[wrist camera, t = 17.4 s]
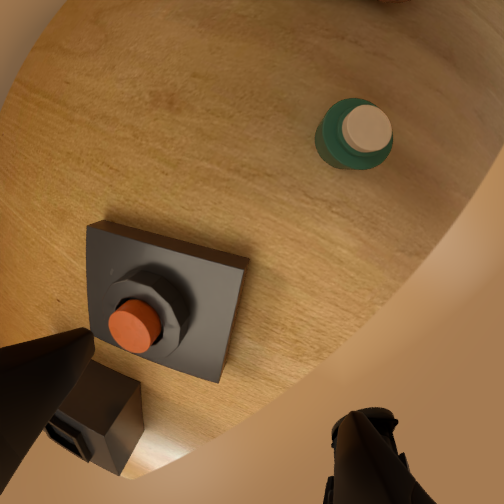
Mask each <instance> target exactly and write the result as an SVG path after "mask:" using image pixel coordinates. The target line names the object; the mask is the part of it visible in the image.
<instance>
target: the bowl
mask: <svg viewBox="0 0 504 504" xmlns="http://www.w3.org/2000/svg"><path fill="white" fill-rule="evenodd" d="M378 1H382V2H387V3H400V2H405V1H409V0H378Z"/></svg>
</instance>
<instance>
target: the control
mask: <svg viewBox="0 0 504 504" xmlns="http://www.w3.org/2000/svg"><path fill="white" fill-rule="evenodd" d="M249 260H250V259H249V258H246V257H242V256H238V255H234V254H230V253H226V252H223V251H219V250H215V249H211V248H207V247H204V246H200V245H196V244H192V243H188V242H185V241H181V240H177V239H173V238H170V237H166V236H162V235H158V234H155V233H151V232H147V231H143V230H140V229H136V228H132V227H128V226H125V225H121V224H117V223H114V222H110V221H106V220H101V221H98V222H96V223H93V224H90V225H87V231H86V277H87V297H88V311H89V322H90V331H92V332H93V335H94V337H97V338H99V339H101V340H103V341H105V342H107V343H109V344H112V345H114V346H116V347H118V348H121V349H123V350H125V351H128V350H126V349H124V348H123V347H121V346H120V345H119V344H118V343H117V342H116V341H115V339H114V338H113V336H112V334H111V332H110V329H109V318H110V316H111V315H112V314H113V313H114V312H115V311H116V310H117V309H118V308H119V307H120V306H122V305H123V304H124V303H125V302H126V301H128V300H131V299H137V300H141V301H144V302H146V303H147V304H149V305H150V306H151V307H152V308H153V309H154V310H155V311H156V313H157V314H158V316H159V318H160V321H161V332H160V334H159V336H158V337H157V338H156V340H155V341H154V342H153V343H152V345H151V346H150V347H149V349H148V350H147V351H145V352H143V353H133V352H130V351H128V352H130V353H132V354H135V355H137V356H140V357H142V358H145V359H147V360H150V361H152V362H155V363H158V364H160V365H163V366H166V367H168V368H171V369H174V370H177V371H180V372H183V373H186V374H189V375H192V376H195V377H198V378H201V379H204V380H208V381H211V382H214V383H219V381H220V378H221V375H222V373H223V370H224V367H225V363H226V358H227V354H228V350H229V346H230V341H231V337H232V333H233V328H234V324H235V320H236V316H237V311H238V307H239V303H240V299H241V294H242V290H243V286H244V281H245V277H246V273H247V269H248V264H249Z"/></svg>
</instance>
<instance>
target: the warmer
mask: <svg viewBox="0 0 504 504" xmlns="http://www.w3.org/2000/svg"><path fill="white" fill-rule="evenodd" d="M43 431H45V432H46V434H47V435H48V437H49V438H50V439H52V440H53V441H54V442H56V443H57V444H59V445H60V446H62V447H63V448H65V449H66V450H68V451H69V452H71V453H72V454H74V455H76V456H77V457H79V458H81V459H82V460H84V461H86V462H88V463H89V461H91V462H93V463H94V464H96V465H98V466H100V467H102V468H104V469H106V470H108V471H110V472H111V473H114V474H116V475H118V476H120V474H121V472H122V470H123V469H124V467H125V465H126V463H127V461H128V459H129V458H130V456H131V454H132V452H133V450H134V448H135V447H136V445H137V443H138V441H139V439H140V437H141V436H142V434H143V432H144V426H143V416H142V404H141V390H140V382H138V381H136V380H134V379H131V378H129V377H127V376H124V375H122V374H120V373H118V372H116V371H113V370H111V369H109V368H107V367H105V366H103V365H101V364H99V363H97V362H95V361H93V360H90V362H89V363H88V365H87V366H86V368H85V370H84V372H83V373H82V375H81V377H80V378H79V380H78V382H77V383H76V385H75V386H74V388H73V389H72V390H71V392H70V393H69V394H68V396H67V397H66V398H65V400H64V401H63V402H62V404H61V405H60V407H59V408H58V409H57V411H56V412H55V413H54V415H53V416H52V418H51V419H50V420H49V422H48V423H47V425H46V426H45V427H44V429H43Z"/></svg>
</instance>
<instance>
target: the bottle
mask: <svg viewBox="0 0 504 504" xmlns="http://www.w3.org/2000/svg"><path fill="white" fill-rule="evenodd" d="M392 144H393V132H392V127H391V123H390V120H389V119H388V117H387V115H386V114H385V113H384V112H383V111H382V110H381V109H380V108H378V107H377V106H376V105H374V104H373V103H371V102H369V101H366V100H363V99H358V98H349V99H344V100H341V101H339V102H337V103H336V104H334V105H333V106H332V107H331V108H330V109H329V110H328V112H327V113H326V115H325V116H324V118H323V120H322V121H321V123H320V124H319V126H318V128H317V130H316V134H315V145H316V149H317V151H318V153H319V155H320V156H321V158H322V159H323V160H324V161H325V162H326V163H328V164H329V165H331V166H333V167H335V168H338V169H354V170H366V169H371V168H374V167H376V166H378V165H379V164H381V163H382V162H383V161H384V160H385V159H386V158H387V156H388V155H389V153H390V151H391V148H392Z"/></svg>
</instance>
